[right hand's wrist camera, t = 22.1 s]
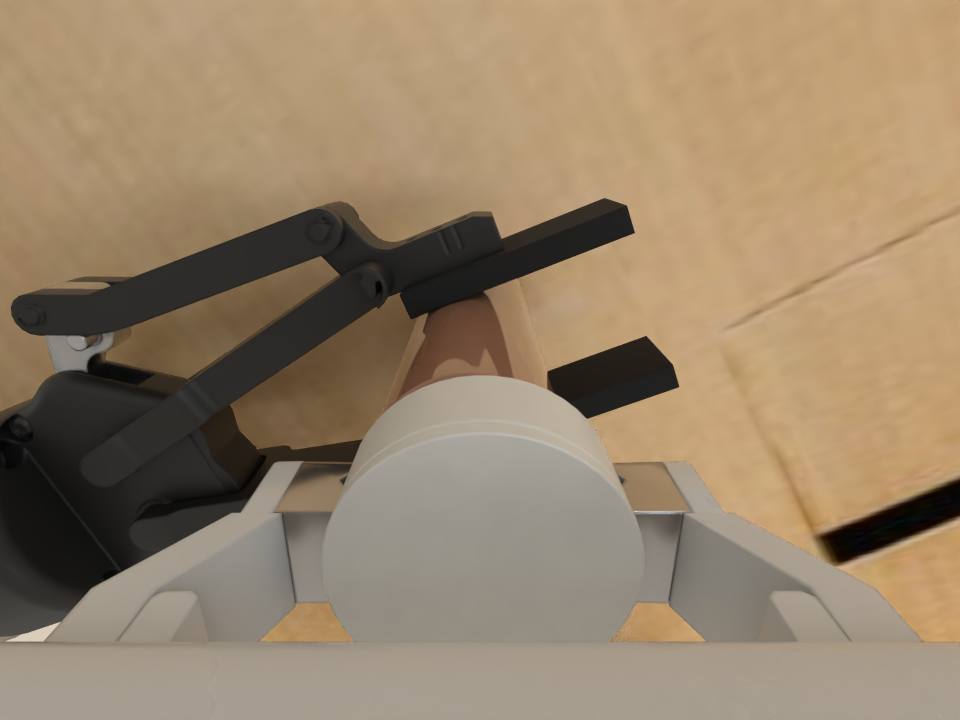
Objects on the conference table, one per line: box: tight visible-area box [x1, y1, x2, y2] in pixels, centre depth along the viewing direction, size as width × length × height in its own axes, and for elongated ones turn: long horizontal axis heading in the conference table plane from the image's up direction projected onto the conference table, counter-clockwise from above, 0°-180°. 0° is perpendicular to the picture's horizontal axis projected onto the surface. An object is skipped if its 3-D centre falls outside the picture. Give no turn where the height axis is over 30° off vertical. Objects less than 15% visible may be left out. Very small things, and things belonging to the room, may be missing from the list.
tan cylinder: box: [381, 278, 554, 415], centre depth 16 cm, size 4×4×15 cm
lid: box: [321, 375, 644, 642], centre depth 9 cm, size 5×5×2 cm
